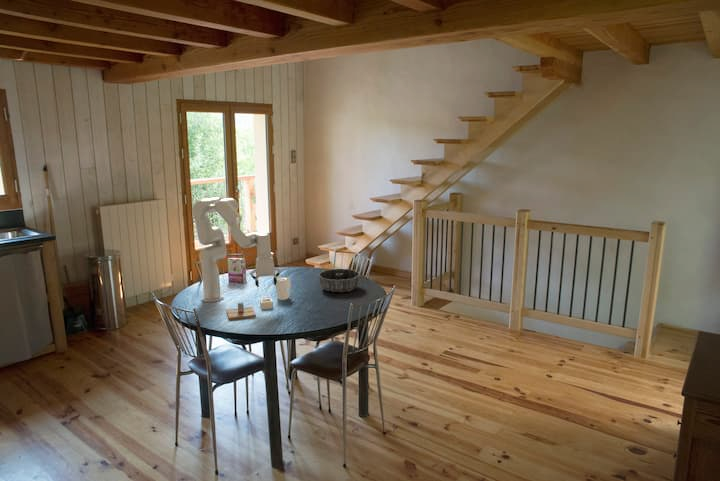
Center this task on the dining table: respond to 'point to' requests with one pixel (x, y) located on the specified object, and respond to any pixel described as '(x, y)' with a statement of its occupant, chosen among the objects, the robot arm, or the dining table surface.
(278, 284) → the cup
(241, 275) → the candy bar box
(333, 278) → the bundt pan
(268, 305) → the knob
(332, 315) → the dining table surface
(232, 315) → the shaft block
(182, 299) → the dining table surface
